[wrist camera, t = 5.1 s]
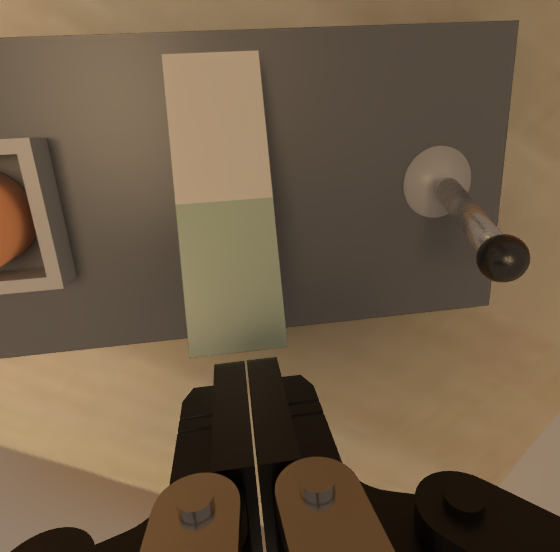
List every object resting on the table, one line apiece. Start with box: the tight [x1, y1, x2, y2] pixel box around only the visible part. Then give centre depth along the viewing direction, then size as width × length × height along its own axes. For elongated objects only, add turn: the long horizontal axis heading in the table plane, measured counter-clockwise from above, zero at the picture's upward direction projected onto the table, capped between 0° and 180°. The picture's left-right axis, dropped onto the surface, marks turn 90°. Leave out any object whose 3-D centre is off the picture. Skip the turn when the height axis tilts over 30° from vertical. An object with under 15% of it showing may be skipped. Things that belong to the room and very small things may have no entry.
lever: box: [434, 177, 530, 282], centre depth 16 cm, size 2×2×6 cm
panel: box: [0, 20, 519, 359], centre depth 17 cm, size 12×25×4 cm, turn 93°
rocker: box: [162, 50, 288, 358], centre depth 15 cm, size 10×3×1 cm, turn 3°
